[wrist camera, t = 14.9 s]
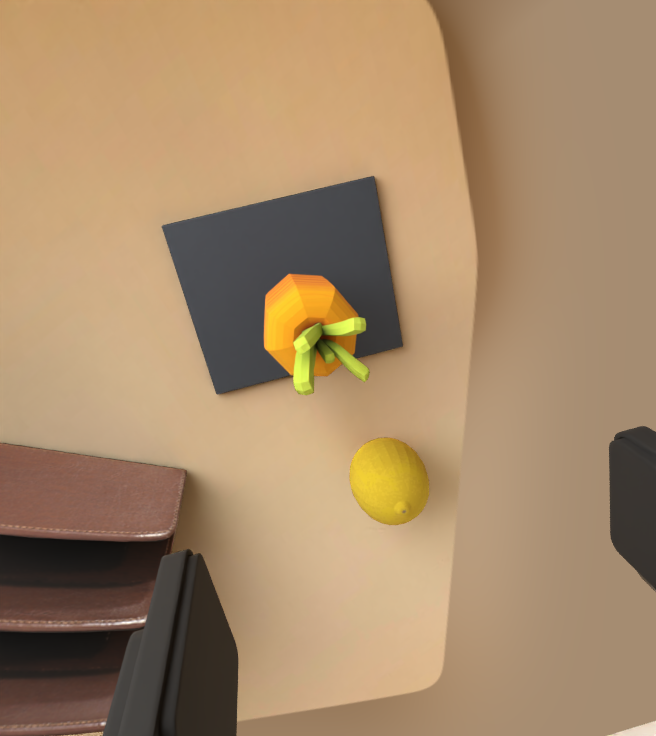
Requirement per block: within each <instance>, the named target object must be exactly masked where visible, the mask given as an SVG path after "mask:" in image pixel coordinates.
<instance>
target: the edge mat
mask: <svg viewBox="0 0 656 736" xmlns="http://www.w3.org/2000/svg"><path fill="white" fill-rule="evenodd" d="M162 229H163V232H164V235H165V238H166V241H167V244H168V247H169V250H170V253H171V256H172V259H173V262H174V265H175V268H176V272H177V275H178V278H179V281H180V284H181V287H182V290H183V293H184V296H185V299H186V302H187V305H188V308H189V311H190V314H191V318H192V321H193V324H194V327H195V330H196V333H197V336H198V339H199V342H200V345H201V348H202V351H203V354H204V357H205V360H206V363H207V367H208V370H209V373H210V376H211V379H212V382H213V385H214V388H215V391H216V394H221V393H225V392H229V391H233V390H237V389H241V388H244V387H248V386H252V385H256V384H260V383H264V382H268V381H271V380H275V379H279V378H283V377H287V376H291V375H290V374H289V373H288V372H287V371H286V370H285V369H284V368H283V367H282V365H281V364H280V363H279V362H278V361H277V360H276V359H275V358H274V357H273V356H272V355H271V354H270V353H269V352H268V351H267V350H266V349H265V347H264V319H265V298H266V294H267V293H268V292H269V291H270V290H271V289H272V288H274V287H275V286H276V285H277V284H278V283H279V282H280V281H281V280H282V279H284V278H285V277H286V276H287V275H288V274H300V275H317V276H322V277H324V278H325V279H327V280H328V281H329V282H330V283H331V284H332V285H333V286H334V287H335V288H336V289H337V290H338V291H339V293H340V294H341V295H342V296H343V297H344V298H345V300H346V301H347V302H348V303H349V304H350V305H351V307H352V308H353V309H354V310H355V311H356V312H357V314H358V317H361V318H365V321H366V331H364V332H362V333H359V334H357V335H356V344H355V353H354V354H353V355H352V356H353V357H354V358H360V357H364V356H368V355H372V354H376V353H379V352H383V351H387V350H391V349H395V348H399V347H402V346H403V343H402V337H401V331H400V325H399V319H398V314H397V308H396V302H395V296H394V290H393V284H392V278H391V272H390V266H389V260H388V254H387V249H386V243H385V237H384V231H383V225H382V219H381V213H380V207H379V201H378V195H377V190H376V184H375V178H374V176H371V177H367V178H363V179H358V180H354V181H350V182H346V183H341V184H337V185H333V186H328V187H324V188H320V189H316V190H311V191H307V192H303V193H299V194H294V195H290V196H286V197H282V198H277V199H273V200H269V201H264V202H260V203H256V204H252V205H247V206H243V207H239V208H235V209H230V210H226V211H222V212H218V213H213V214H209V215H205V216H200V217H196V218H192V219H188V220H183V221H179V222H175V223H171V224H166V225H163V226H162Z"/></svg>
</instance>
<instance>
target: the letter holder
mask: <svg viewBox="0 0 656 736" xmlns="http://www.w3.org/2000/svg"><path fill="white" fill-rule="evenodd" d="M186 476H187V470H184V469H175V468H168V467H161V466H156V465H147V464H142V463H135V462H127V461H121V460H114V459H107V458H100V457H93V456H87V455H79V454H74V453H65V452H59V451H53V450H45V449H39V448H32V447H25V446H18V445H10V444H6V443H3V444H2V443H0V736H61V735H73V734H83V733H93V732H102V731H104V729H105V725H106V721H107V718H108V714H109V710H110V707H111V703H112V699H113V696H114V692H115V688H116V685H117V681H118V677H119V674H120V670H121V666H122V663H123V659H124V655H125V652H126V648H127V644H128V641H129V639H130V636H131V635H132V634H133V633H134V632H135V631H139V630H142V629H144V627H145V623H146V619H147V615H148V611H149V607H150V603H151V598H152V594H153V590H154V586H155V582H156V578H157V574H158V570H159V566H160V562H161V559H162V557H163V556H165V555H169V554H171V552H172V547H173V543H174V538H175V533H176V529H177V524H178V519H179V513H180V508H181V502H182V497H183V492H184V487H185V482H186Z"/></svg>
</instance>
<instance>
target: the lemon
mask: <svg viewBox="0 0 656 736" xmlns="http://www.w3.org/2000/svg"><path fill="white" fill-rule="evenodd" d="M350 484H351V488H352V492H353V495H354V497H355V498H356V500H357V502H358V504H359V505H360V507H361V508H362V509H363V510H364V511H365V512H366V513H367V514H368V515H369V516H370V517H371V518H373V519H374V520H376V521H378V522H380V523H384V524H388V525H399V524H404V523H406V522H409V521H411V520H412V519H414V518H415V517H417V516H418V515H419V514H420V513H421V511H422V510H423V509H424V507H425V505H426V503H427V500H428V496H429V479H428V475H427V472H426V469H425V466H424V464H423V462H422V460H421V459H420V457H419V456H418V455H417V453H416V452H415V451H414V450H413V449H412V448H411V447H409V446H408V445H407V444H406V443H404V442H402V441H399V440H397V439H393V438H377V439H374V440H371V441H369V442H368V443H366V444H364V445H363V446H362V447H361V448H360V449H359V450H358V451H357V453H356V454H355V456H354V458H353V460H352V463H351V466H350Z"/></svg>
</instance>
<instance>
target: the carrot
mask: <svg viewBox="0 0 656 736" xmlns="http://www.w3.org/2000/svg"><path fill="white" fill-rule="evenodd" d="M364 331H366V321H365V318H361V317H358V314H357V312H356V311H355V310H354V309H353V308H352V307H351V305H350V304H349V303H348V302H347V301H346V300H345V298H344V297H343V296H342V295H341V294H340V293H339V291H338V290H337V289H336V288H335V287H334V286H333V285H332V284H331V283H330V282H329V281H328V280H327V279H325V278H324V277H322V276H317V275H300V274H288V275H287V276H286V277H285V278H284V279H282V280H281V281H280V282H279V283H278V284H277V285H276V286H275V287H274V288H272V289H271V290H270V291H269V292H268V293H267V294H266V298H265V319H264V347H265V349H266V350H267V351H268V352H269V353H270V354H271V355H272V356H273V357H274V358H275V359H276V360H277V361H278V362H279V363H280V364H281V365H282V367H283V368H284V369H285V370H286V371H287V372H288V373H289V374H290V375H294V380H293V383H294V387H295V390H296V391H297V392H298V394H302V395H309V394H311V393H314V376H328V375H329V374H331V373H332V372H333V371H334V370H335V369H336V368H338V367H339V366H340V365H341V364H343V365H344V366H345V367H346V368H347V369H348V370H349V371H350V372H352V373H353V374H354V375H355V376H356V377H358V378H359V379H361V380H362V381H363V382H365V381H366V380H367V379H368V377H369V373H370V372H369V369H368V368H367V367H366V366H365V365H363V364H362V363H361V362H360V361H358V360H357V359H356V358H354V357H353V356H352V355H353V354H354V353H355V344H356V335H357V334H359V333H362V332H364Z"/></svg>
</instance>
